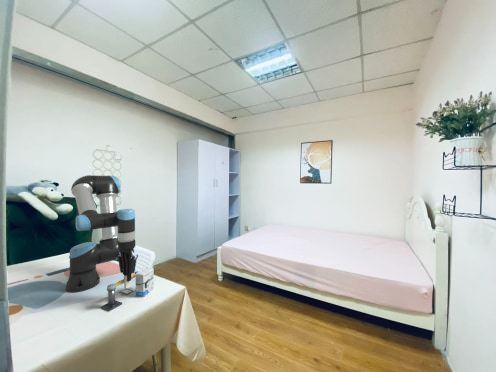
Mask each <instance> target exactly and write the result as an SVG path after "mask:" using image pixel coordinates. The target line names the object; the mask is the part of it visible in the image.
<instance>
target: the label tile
mask: <svg viewBox="0 0 496 372" xmlns="http://www.w3.org/2000/svg"><path fill="white" fill-rule="evenodd" d="M134 292H135V291H134V290H132V289H128V288H126V289H125V288H124V289H122V290H121V291H119V292H118V293H119V294H121V295H124V296H126V297H127V296H128V295H130V294H131V295H132V293H134Z"/></svg>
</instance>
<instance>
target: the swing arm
mask: <svg viewBox="0 0 496 372" xmlns="http://www.w3.org/2000/svg"><path fill="white" fill-rule="evenodd" d="M137 272H138V271H135V272H134V273H132V274H131V280H133V279H136V273H137ZM123 284H124V278H123V279H121V280H119V281H117V282H115V283H111V284H108V285H106V291H107V292H108V291H113V290H115V291H116V289H117V288H118V287H119V286H122V285H123Z"/></svg>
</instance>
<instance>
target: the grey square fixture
mask: <svg viewBox="0 0 496 372" xmlns="http://www.w3.org/2000/svg"><path fill="white" fill-rule="evenodd" d="M122 305H123V302H121V301H118V300H116V289H115V290H113V291H107V303H105V304H103V305H101V306H100V309H102V310H105V311H106V312H111V311H113V310H114V309H116V308H118V307H120V306H122Z"/></svg>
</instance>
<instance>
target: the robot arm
mask: <svg viewBox="0 0 496 372" xmlns="http://www.w3.org/2000/svg"><path fill="white" fill-rule="evenodd" d="M121 188H122V187H121V182H120V180H119V178H118V177H117V176H115V175H92V174H91V175H88V174H87V175H83V176H81V177H79V178H77V179H76V180H75V181H74V182H73V183H72V185H71V189H70V191H71V194H72V196H74V197H75V198H74V199H75V202H76V206H77V207H76V208H77V212H78V215H76V216H75V229H76V231H78V232H82V231H83V232H84V231H85V232H86V231H93V230H99V229H101V238H100V239H98V243H96V242H95V241H88V242H87V241H86V242H82V243H80V244H77V245H75V246H73V247H71V248H70V250H69V257H68V258H69V276H68V279H67V281H66V284H65V291H66V292H67V293H78V292H85V291H87V290H90V289H92V288H95V287H96V286H98V285H99V284H100V282H101V278H100V275H99V272H98V270H97V265H99V264H104V263H109V262H113V261H117V262H118V265H119V271H120V273H121V274H122V275H123V279H124V283H123V284H124V287H123V288H124V289H128V288H130V287H132V279H131V275H132V274H134V273H135V272H136V267H137V266H136V265H137V259H138V258H139V255H138V254H135V249H134V248H136V213H135V209H133V208H123V209H119V210H117V200H116V198H117V197H118V196H119V193H121ZM94 194H95V197H96V198H97V199H98V200H99V208H100V209H99V210H100V213H99V210H98V209H97V205H96V202H95V200H94V196H93V195H94Z"/></svg>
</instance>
